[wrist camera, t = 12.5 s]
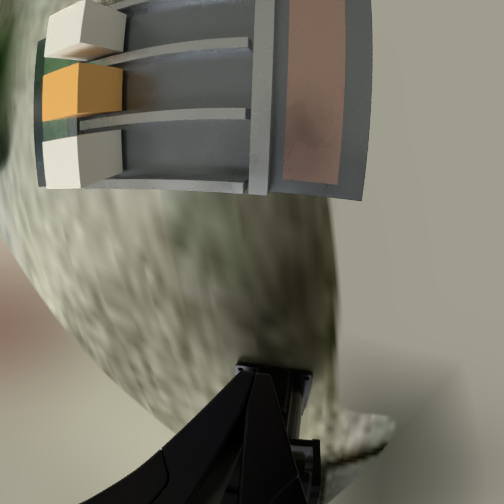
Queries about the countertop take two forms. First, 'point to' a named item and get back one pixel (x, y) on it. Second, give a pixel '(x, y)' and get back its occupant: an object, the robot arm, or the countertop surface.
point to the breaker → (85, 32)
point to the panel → (234, 97)
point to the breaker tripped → (81, 91)
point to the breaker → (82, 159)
